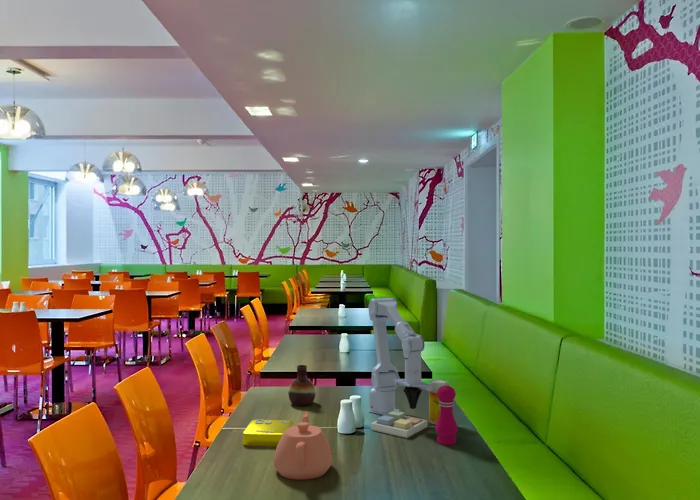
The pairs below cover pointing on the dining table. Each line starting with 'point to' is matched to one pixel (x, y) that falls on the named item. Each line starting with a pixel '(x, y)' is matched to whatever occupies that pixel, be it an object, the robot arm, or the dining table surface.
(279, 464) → the teapot
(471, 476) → the dining table surface
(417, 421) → the terracotta key
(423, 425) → the keypad base
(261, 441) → the element tile
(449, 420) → the pepper mill
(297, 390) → the vase
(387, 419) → the slate-blue key
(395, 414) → the sage key
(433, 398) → the beer can
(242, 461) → the dining table surface
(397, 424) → the mustard key
